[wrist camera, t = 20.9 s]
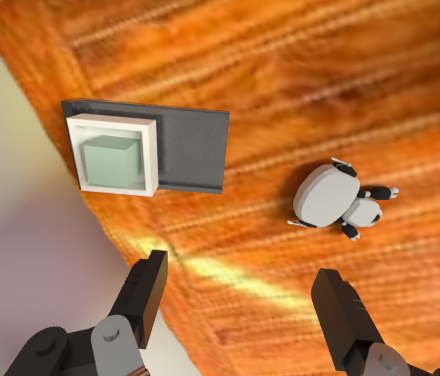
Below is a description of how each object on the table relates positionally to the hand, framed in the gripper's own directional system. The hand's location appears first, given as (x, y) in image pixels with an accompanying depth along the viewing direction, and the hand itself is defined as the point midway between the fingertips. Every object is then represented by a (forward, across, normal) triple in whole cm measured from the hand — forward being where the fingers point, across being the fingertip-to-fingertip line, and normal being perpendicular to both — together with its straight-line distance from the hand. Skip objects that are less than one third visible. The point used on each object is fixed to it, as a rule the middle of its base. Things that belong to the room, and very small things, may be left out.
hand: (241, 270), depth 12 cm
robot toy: (+27, -18, +8) cm, 34 cm away
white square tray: (+25, +16, +3) cm, 30 cm away
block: (+22, +16, +3) cm, 27 cm away
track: (+26, +12, +3) cm, 29 cm away
